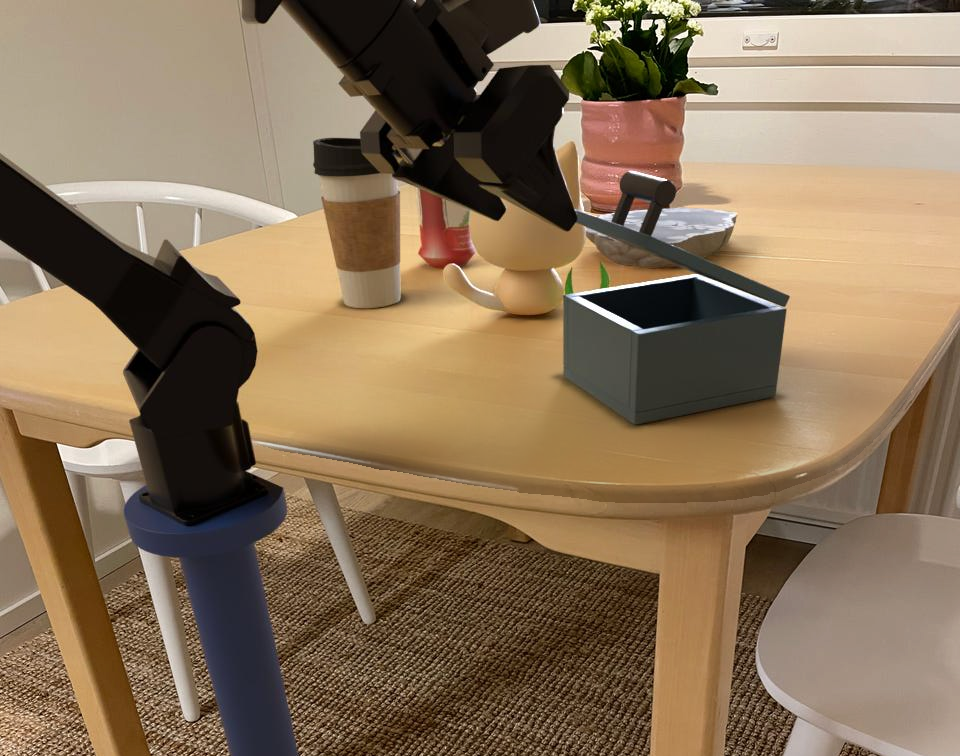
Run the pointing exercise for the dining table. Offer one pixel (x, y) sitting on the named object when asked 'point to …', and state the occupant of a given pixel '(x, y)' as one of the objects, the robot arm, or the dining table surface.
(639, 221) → the grey flat stone slab
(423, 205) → the liquor
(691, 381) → the cooler
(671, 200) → the lid
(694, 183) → the dining table surface
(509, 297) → the beige cat figurine
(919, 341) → the dining table surface
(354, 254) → the coffee cup
